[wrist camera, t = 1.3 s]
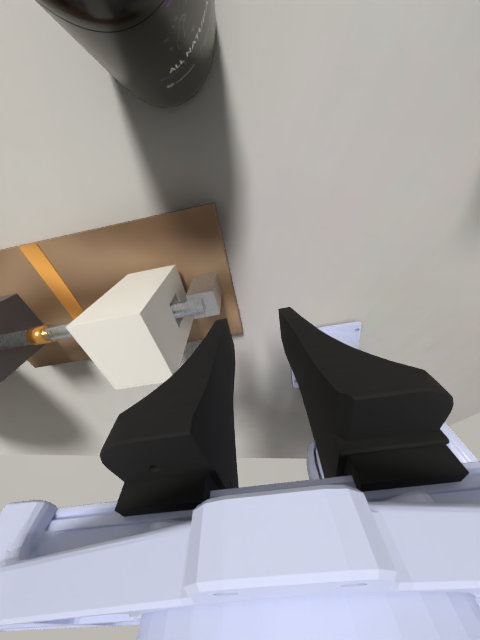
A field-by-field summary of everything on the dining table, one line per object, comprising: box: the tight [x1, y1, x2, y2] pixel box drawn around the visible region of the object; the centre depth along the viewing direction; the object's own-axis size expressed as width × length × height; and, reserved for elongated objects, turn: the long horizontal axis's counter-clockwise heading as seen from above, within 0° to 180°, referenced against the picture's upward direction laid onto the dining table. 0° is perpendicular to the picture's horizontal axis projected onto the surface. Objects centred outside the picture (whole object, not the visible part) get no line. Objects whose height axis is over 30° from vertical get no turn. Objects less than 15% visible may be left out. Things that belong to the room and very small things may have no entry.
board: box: [0, 202, 242, 368], centre depth 20 cm, size 12×24×2 cm, turn 101°
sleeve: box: [66, 265, 194, 390], centre depth 15 cm, size 5×4×8 cm
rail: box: [0, 271, 222, 350], centre depth 17 cm, size 2×20×5 cm, turn 101°
